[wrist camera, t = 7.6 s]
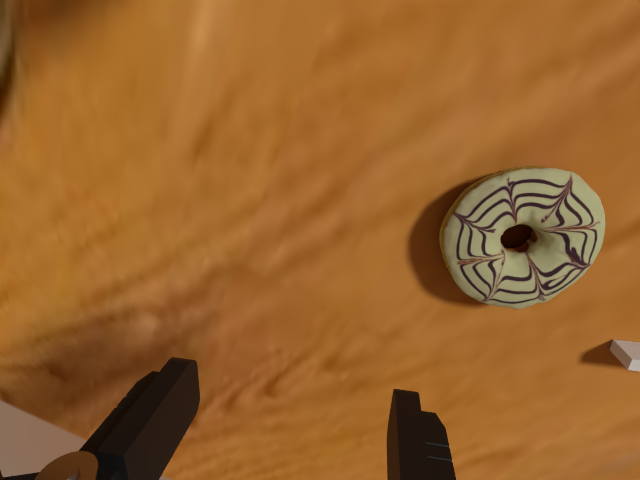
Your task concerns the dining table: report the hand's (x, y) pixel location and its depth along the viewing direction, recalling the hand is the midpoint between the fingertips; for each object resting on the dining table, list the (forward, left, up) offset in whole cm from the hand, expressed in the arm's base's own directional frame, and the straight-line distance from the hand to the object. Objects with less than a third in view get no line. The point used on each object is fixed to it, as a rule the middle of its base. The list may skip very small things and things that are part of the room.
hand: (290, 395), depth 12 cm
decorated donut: (+13, 0, -20) cm, 24 cm away
